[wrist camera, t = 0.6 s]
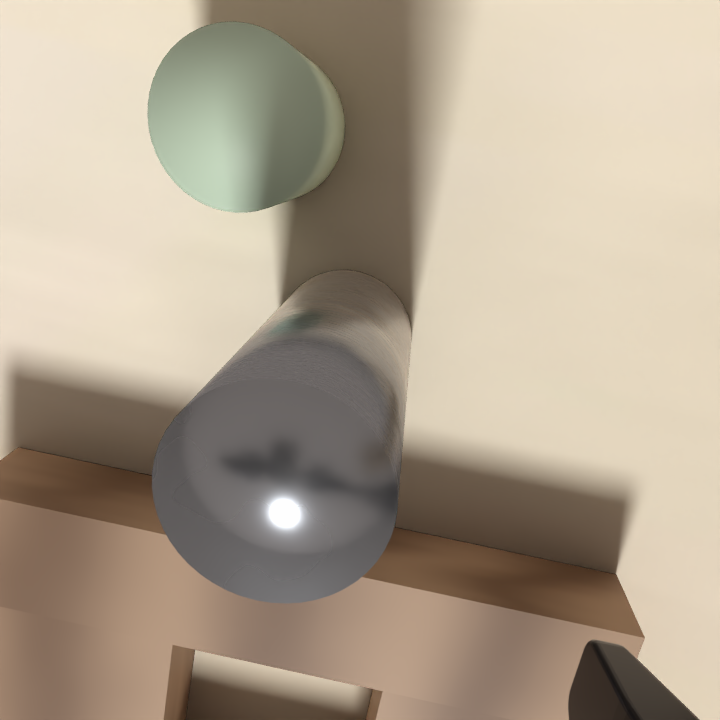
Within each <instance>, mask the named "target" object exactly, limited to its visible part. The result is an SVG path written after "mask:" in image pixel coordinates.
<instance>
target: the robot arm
mask: <svg viewBox="0 0 720 720" xmlns="http://www.w3.org/2000/svg"><path fill="white" fill-rule="evenodd" d="M568 714H569V720H699V719H698V718H697V717H696V716H695V715H694V714H693V713H692V712H691V711H690V710H689V709H688V708H687V707H686V706H685V705H684V704H683V703H682V702H681V701H680V700H679V699H678V698H677V697H676V696H675V695H674V694H673V693H671V692H670V691H669V690H668V689H667V688H666V687H665V686H664V685H663V684H662V683H661V682H660V681H659V680H658V679H657V678H656V677H655V676H654V675H653V674H652V673H651V672H650V671H649V670H648V669H647V668H646V667H645V666H644V665H643V664H642V663H641V662H640V661H639V660H638V659H636V658H635V657H634V656H633V655H632V654H631V653H630V652H629V651H628V650H627V649H626V648H625V647H624V646H622V645H619V644H615V643H610V642H605V641H601V640H596V639H593V640H590V641H589V642H588V643H587V644H586V646H585V648H584V650H583V653H582V656H581V659H580V662H579V665H578V668H577V671H576V674H575V677H574V680H573V682H572V685H571V689H570V693H569V699H568Z"/></svg>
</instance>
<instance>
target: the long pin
mask: <svg viewBox="0 0 720 720" xmlns="http://www.w3.org/2000/svg"><path fill="white" fill-rule="evenodd" d="M410 350H411V326H410V321H409V318H408V315H407V312H406V310H405V308H404V306H403V304H402V302H401V301H400V299H399V298H398V297H397V295H396V294H395V293H394V292H393V291H392V290H391V289H390V288H389V287H388V286H387V285H385V284H384V283H383V282H381V281H380V280H378V279H376V278H374V277H372V276H370V275H368V274H365V273H361V272H358V271H351V270H335V271H329V272H325V273H321V274H319V275H317V276H314V277H312V278H311V279H309V280H307V281H306V282H304V283H303V284H302V285H301V286H299V287H298V288H297V289H296V290H295V291H294V293H293V294H292V295H291V296H290V297H289V298H288V299H287V300H286V301H285V302H284V303H283V304H282V305H281V306H280V307H279V308H278V309H277V311H276V312H275V313H274V314H273V315H272V316H271V317H270V318H269V319H268V320H267V321H266V322H265V323H264V324H263V325H262V326H261V327H260V328H259V330H258V331H257V332H256V333H255V334H254V335H253V336H252V337H251V338H250V339H249V340H248V341H247V342H246V343H245V344H244V345H243V346H242V348H241V349H240V350H239V351H238V352H237V353H236V354H235V355H234V356H233V357H232V358H231V359H230V360H229V361H228V362H227V363H226V364H225V365H224V367H223V368H222V369H221V370H220V371H219V372H218V373H217V374H216V375H215V376H214V377H213V378H212V379H211V380H210V381H209V382H208V383H207V385H206V386H205V387H204V388H203V389H202V390H201V391H200V392H199V393H198V394H197V395H196V396H195V397H194V398H193V399H192V400H191V401H190V402H189V404H188V405H187V406H186V407H185V408H184V409H183V410H182V411H181V412H180V413H179V414H178V415H177V416H176V417H175V418H174V420H173V421H172V423H171V424H170V425H169V427H168V428H167V430H166V431H165V433H164V435H163V437H162V439H161V441H160V443H159V446H158V449H157V452H156V455H155V458H154V464H153V470H152V492H153V500H154V504H155V508H156V512H157V515H158V518H159V520H160V523H161V525H162V528H163V530H164V532H165V533H166V535H167V537H168V539H169V541H170V542H171V544H172V545H173V546H174V548H175V549H176V550H177V552H178V553H179V554H180V555H181V556H182V558H183V559H184V560H185V561H186V562H187V563H188V564H189V565H190V566H191V567H192V568H194V569H195V570H196V571H197V572H198V573H199V574H201V575H202V576H203V577H205V578H206V579H208V580H209V581H211V582H212V583H214V584H216V585H218V586H219V587H221V588H223V589H225V590H227V591H229V592H232V593H235V594H237V595H240V596H242V597H246V598H250V599H253V600H257V601H263V602H270V603H286V604H287V603H302V602H307V601H313V600H317V599H321V598H324V597H327V596H330V595H332V594H335V593H337V592H339V591H341V590H343V589H345V588H347V587H348V586H350V585H352V584H353V583H355V582H356V581H357V580H359V579H360V578H361V577H362V576H363V575H365V574H366V573H367V572H368V571H369V570H370V569H371V568H372V567H373V565H374V564H375V563H376V562H377V561H378V559H379V558H380V556H381V555H382V553H383V552H384V550H385V549H386V546H387V544H388V542H389V540H390V538H391V535H392V532H393V529H394V526H395V522H396V515H397V508H398V496H399V484H400V472H401V459H402V447H403V435H404V423H405V411H406V399H407V386H408V374H409V362H410Z"/></svg>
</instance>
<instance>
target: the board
mask: <svg viewBox="0 0 720 720" xmlns="http://www.w3.org/2000/svg"><path fill="white" fill-rule="evenodd" d="M593 639H596V640H601V641H605V642H610V643H615V644H619V645H622V646H624V647H625V648H626V649H627V650H628V651H629V652H630V653H631V654H632V655H633V656H634V657H635V658H636V659H637V657H638V654H639V652H640V649H641V647H642V644H643V641H644V639H645V637H644V635H643V633H642V631H641V629H640V626H639V624H638V622H637V620H636V617H635V615H634V613H633V611H632V608H631V606H630V604H629V602H628V600H627V597H626V595H625V593H624V591H623V588H622V586H621V584H620V582H619V580H618V577H617V575H616V574H611V573H607V572H602V571H597V570H592V569H588V568H583V567H578V566H574V565H569V564H564V563H560V562H555V561H550V560H545V559H541V558H536V557H531V556H527V555H522V554H517V553H512V552H508V551H503V550H498V549H494V548H489V547H484V546H480V545H475V544H470V543H465V542H461V541H456V540H451V539H447V538H442V537H437V536H433V535H428V534H423V533H418V532H414V531H409V530H404V529H400V528H395V527H394V529H393V532H392V535H391V538H390V540H389V542H388V544H387V546H386V549H385V550H384V552H383V553H382V555H381V556H380V558H379V559H378V561H377V562H376V563H375V564H374V565H373V567H372V568H371V569H370V570H369V571H368V572H367V573H366V574H365V575H363V576H362V577H361V578H360V579H359V580H357V581H356V582H355V583H353V584H352V585H350V586H348V587H347V588H345V589H343V590H341V591H339V592H337V593H335V594H332V595H330V596H327V597H324V598H321V599H317V600H313V601H307V602H302V603H287V604H286V603H270V602H263V601H257V600H253V599H250V598H246V597H242V596H240V595H237V594H235V593H232V592H229V591H227V590H225V589H223V588H221V587H219V586H218V585H216V584H214V583H212V582H211V581H209V580H208V579H206V578H205V577H203V576H202V575H201V574H199V573H198V572H197V571H196V570H195V569H194V568H192V567H191V566H190V565H189V564H188V563H187V562H186V561H185V560H184V559H183V558H182V556H181V555H180V554H179V553H178V552H177V550H176V549H175V548H174V546H173V545H172V544H171V542H170V541H169V539H168V537H167V535H166V533H165V532H164V530H163V528H162V525H161V523H160V520H159V518H158V515H157V512H156V508H155V504H154V500H153V492H152V476H150V475H146V474H141V473H136V472H132V471H127V470H122V469H118V468H113V467H108V466H103V465H99V464H94V463H89V462H85V461H80V460H75V459H71V458H66V457H61V456H56V455H52V454H47V453H42V452H38V451H33V450H28V449H24V448H19V447H18V448H17V449H16V450H14V451H13V452H11V453H10V454H9V455H7V456H6V457H4V458H3V459H2V460H0V720H186V713H187V705H188V698H189V690H190V682H191V675H192V667H193V660H194V652H195V650H199V651H203V652H208V653H212V654H217V655H221V656H226V657H230V658H235V659H239V660H244V661H248V662H253V663H257V664H262V665H266V666H271V667H275V668H280V669H284V670H289V671H294V672H298V673H303V674H307V675H312V676H316V677H321V678H325V679H330V680H334V681H339V682H343V683H348V684H352V685H357V686H361V687H366V688H370V689H373V691H372V695H371V699H370V704H369V708H368V712H367V716H366V720H569V714H568V699H569V693H570V689H571V685H572V682H573V680H574V677H575V674H576V671H577V668H578V665H579V662H580V659H581V656H582V653H583V650H584V648H585V646H586V644H587V643H588V642H589V641H590V640H593Z"/></svg>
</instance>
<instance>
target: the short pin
mask: <svg viewBox="0 0 720 720" xmlns="http://www.w3.org/2000/svg"><path fill="white" fill-rule="evenodd" d="M148 125H149V132H150V136H151V141H152V144H153V146H154V149H155V152H156V154H157V156H158V158H159V161H160V163H161V164H162V166H163V167H164V169H165V171H166V172H167V174H168V175H169V176H170V177H171V179H172V180H173V181H174V182H175V183H176V184H177V185H178V186H179V187H180V188H181V189H182V190H183V191H184V192H185V193H187V194H188V195H189V196H191V197H192V198H194V199H195V200H197V201H199V202H201V203H202V204H205V205H207V206H209V207H212V208H215V209H218V210H222V211H228V212H235V213H236V212H253V211H259V210H262V209H266V208H269V207H272V206H275V205H277V204H280V203H283V202H286V201H289V200H291V199H294V198H297V197H300V196H302V195H304V194H306V193H308V192H310V191H311V190H313V189H315V188H316V187H317V186H318V185H320V184H321V183H322V182H323V181H324V180H325V179H326V178H327V177H328V175H329V174H330V173H331V171H332V170H333V168H334V167H335V165H336V163H337V161H338V159H339V156H340V153H341V151H342V147H343V142H344V135H345V119H344V112H343V108H342V104H341V100H340V98H339V96H338V93H337V91H336V89H335V87H334V86H333V84H332V82H331V81H330V79H329V78H328V77H327V75H326V74H325V73H324V72H323V71H322V70H321V69H320V68H319V67H318V66H317V65H315V64H314V63H313V62H312V61H310V60H309V59H308V58H307V57H305V56H304V55H303V54H301V53H300V52H299V51H298V50H296V49H295V48H294V47H293V46H291V45H290V44H289V43H287V42H286V41H285V40H284V39H282V38H281V37H280V36H278V35H276V34H274V33H273V32H271V31H269V30H267V29H264V28H262V27H260V26H256V25H253V24H249V23H243V22H220V23H215V24H210V25H207V26H204V27H201V28H199V29H197V30H195V31H193V32H191V33H189V34H188V35H187V36H185V37H184V38H182V39H181V40H180V41H179V42H178V43H177V44H175V45H174V46H173V47H172V48H171V49H170V51H169V52H168V53H167V55H166V56H165V57H164V59H163V60H162V62H161V64H160V65H159V67H158V69H157V71H156V74H155V76H154V78H153V81H152V85H151V89H150V93H149V100H148Z"/></svg>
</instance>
